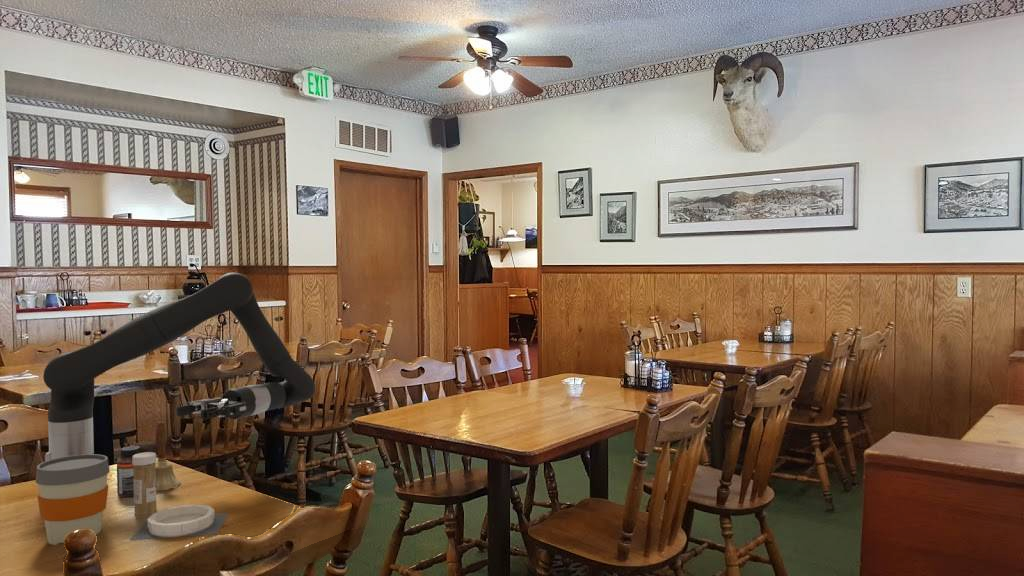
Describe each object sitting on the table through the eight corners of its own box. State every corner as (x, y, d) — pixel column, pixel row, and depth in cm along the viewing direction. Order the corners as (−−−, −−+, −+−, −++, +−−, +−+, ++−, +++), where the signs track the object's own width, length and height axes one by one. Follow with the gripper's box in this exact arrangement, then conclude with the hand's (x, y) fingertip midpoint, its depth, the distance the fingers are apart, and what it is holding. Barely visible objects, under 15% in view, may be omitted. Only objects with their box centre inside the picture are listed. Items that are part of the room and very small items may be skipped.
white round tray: (140, 539, 136) (139, 527, 136) (159, 518, 148) (159, 506, 148) (205, 534, 138) (205, 522, 138) (219, 514, 150) (219, 502, 150)
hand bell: (186, 485, 173) (185, 421, 172) (151, 493, 166) (150, 427, 166) (172, 479, 178) (170, 416, 178) (137, 487, 172) (136, 422, 171)
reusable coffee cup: (32, 553, 131) (30, 474, 131) (41, 532, 142) (39, 458, 142) (109, 541, 137) (107, 465, 136) (112, 521, 148) (110, 451, 147)
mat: (129, 543, 136) (129, 540, 136) (149, 521, 147) (149, 518, 147) (216, 536, 139) (216, 533, 138) (229, 516, 150) (229, 513, 150)
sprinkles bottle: (158, 516, 150) (157, 454, 150) (134, 521, 148) (133, 458, 148) (155, 510, 154) (154, 450, 154) (132, 514, 152) (131, 453, 151)
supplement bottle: (124, 491, 168) (123, 444, 168) (150, 490, 168) (149, 444, 168) (112, 499, 162) (111, 451, 162) (139, 498, 163) (138, 450, 162)
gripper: (226, 384, 178) (169, 395, 164) (266, 388, 171) (209, 399, 157) (227, 413, 178) (170, 426, 164) (267, 418, 171) (210, 432, 157)
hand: (189, 413), depth 160 cm, fingers open, 8 cm apart
